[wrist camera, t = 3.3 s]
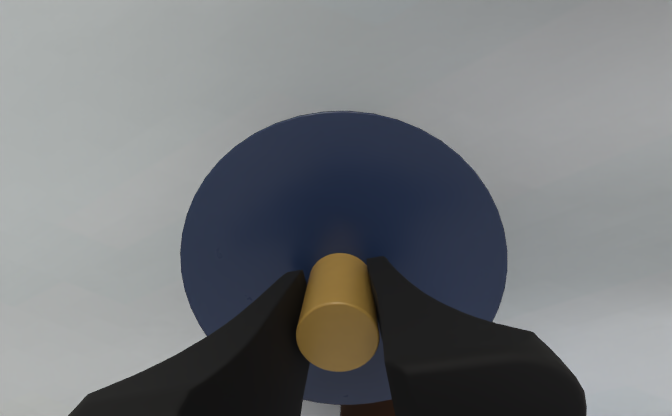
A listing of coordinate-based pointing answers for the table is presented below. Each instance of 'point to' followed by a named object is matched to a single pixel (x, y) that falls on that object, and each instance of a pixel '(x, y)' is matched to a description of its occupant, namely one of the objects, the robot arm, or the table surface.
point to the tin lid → (341, 237)
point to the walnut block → (369, 409)
